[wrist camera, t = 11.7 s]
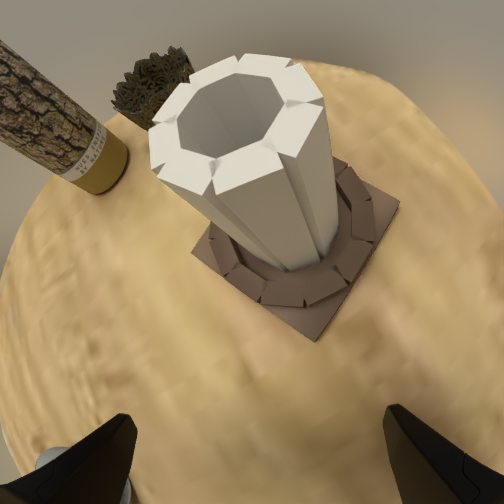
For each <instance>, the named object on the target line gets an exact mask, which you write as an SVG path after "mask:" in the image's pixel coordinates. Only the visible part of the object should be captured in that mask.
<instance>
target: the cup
mask: <svg viewBox="0 0 504 504" xmlns="http://www.w3.org/2000/svg"><path fill="white" fill-rule="evenodd" d="M168 54H169V55H167V54H165V55H164V56H162V57H161V56H159V55H158V54H157V53H151V54H150V59H142V60H139V61H137V62H136V63H135V67H134V72H133V74H131V73H130V72H128V73H125V74H124V76H125V79H126V81H127V82H128V83H127V82H119V83H117V87H116V88H117V90H113V92H114V95H115V99H116V100H115V101H113V100H111V102H112V103H113V104H114V105H115V107H113V108H114V109H115V110H117V111H118V112H120V113H121V114H123V115H124V116H125V117H127V118H128V119H130V120H131V121H132V122H134V123H135V124H137V125H138V126H140V127H141V128H143V129H144V130H146V131H148V130H149V129H150V128H152V127H154V126H156V124H155V123H154V122H153V121H152V119H153V118H154V117H155V115H156V114H157V112H158V111H159V110H160V108H161V107H162V106H163V104H164V103H165V102H166V100H167V99H168V98H169V96H170V95H171V94H172V93H173V91H174V90H175V89H176V88H177V86H178V85H179V84H180V83H189V84H191V83H190V78H189V76H190V75H192V74H194V73H195V72H194V69H193V67H192V65H191V63H190V61H189V59H188V56H187V55H186V53H185V52H184V50H183V49H182V48H181V47H180V48H179V49H177V50H176V49H175V48H174V47H172V46H170V47H169V49H168ZM148 132H149V131H148Z"/></svg>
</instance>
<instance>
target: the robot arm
mask: <svg viewBox="0 0 504 504" xmlns="http://www.w3.org/2000/svg"><path fill="white" fill-rule="evenodd" d="M383 429H384V434H385V439H386V444H387V450H388V455H389V460H390V464H391V467H392V470H393V473H394V477H395V480H396V483H397V486H398V490H399V493H400V496H401V500H402V503H403V504H504V475H502V474H500V473H498V472H496V471H494V470H492V469H490V468H488V467H486V466H485V465H483V464H481V463H480V462H478V461H477V460H475V459H474V458H472V457H471V456H469V455H468V454H467V453H465V454H464V451H462V450H461V449H459V448H458V447H457V446H455V445H454V444H453V443H451V442H450V441H448V440H447V439H446V438H444V437H443V436H442V435H440V434H439V433H438V432H436V431H435V430H434V429H432V428H431V427H429V426H428V425H427V424H425V423H424V422H423V421H421V420H420V419H419V418H417V417H416V416H415V415H413V414H412V413H411V412H410V411H408V410H407V409H406V408H404V407H403V406H402V405H400V404H393V405H389V406H387V408H386V411H385V415H384V418H383ZM137 433H138V431H137V427H136V426H135V424H134V422H133V420H132V418H131V416H130V415H128V414H123V413H119V414H117V415H116V416H114V417H113V418H112V419H110V420H109V421H107V422H106V423H105V424H103V425H102V426H101V427H99V428H98V429H96V430H95V431H94V432H92V433H91V434H89V435H88V436H86V437H85V438H84V439H82V440H81V441H79V442H78V443H76V444H75V445H74V446H72V447H71V448H69V449H68V450H66V451H65V452H63V453H62V454H60V455H59V456H57V457H56V458H55V459H53V460H51V461H50V462H48V463H47V464H45V465H43V466H42V467H40V468H39V469H37V470H35V471H33V472H31V473H29V474H27V475H25V476H23V477H21V478H19V479H17V480H15V481H12V482H10V483H8V484H3V485H0V504H120V502H121V498H122V495H123V492H124V488H125V485H126V482H127V478H128V475H129V472H130V469H131V465H132V460H133V455H134V449H135V444H136V439H137Z"/></svg>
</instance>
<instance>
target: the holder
mask: <svg viewBox="0 0 504 504" xmlns="http://www.w3.org/2000/svg"><path fill="white" fill-rule="evenodd" d="M332 158H333V166H334V175H335V184H336V194H337V205H338V217H339V225H338V227H339V232H338V235H337V237H336V239H335V241H334V243H333V245H332V247H331V249H330V251H329V253H328V255H327V257H326V258H324V257H322V256H320V255H318V256H319V259H320V262H321V263H320V264H317V265H314V266H311V267H308V268H305V269H303V270H300V271H297V272H294V273H291V272H290V271H289V270H288V269H287V270H286V272H283V271H281V270H279V269H277V268H275V267H273V266H271V265H269V264H267V263H265V262H263V261H261V260H259V259H258V258H257V257H255V256H254V255H253V254H252V253H250V252H249V251H248V250H247V249H245V248H244V247H243V246H242V245H240V244H239V243H238V242H237V241H235V240H234V239H233V238H232V237H230V236H229V235H228V234H227V233H225V232H224V231H223V230H222V229H220V228H219V227H218V226H217V225H215V224H214V223H213V222H212V221H211V223H210V225H209V226H208V228H207V229H206V231H205V232H204V234H203V235H202V237H201V238H200V240H199V241H198V243H197V244H196V245H195V247H194V248H193V250H192V251H191V253H192V254H193V255H194V256H196V257H197V258H198V259H200V260H201V261H202V262H204V263H205V264H206V265H208V266H209V267H210V268H212V269H213V270H214V271H216V272H217V273H218V274H220V275H221V276H222V277H224V278H225V280H226V281H228V282H229V283H231V284H232V285H233V286H235V287H236V288H237V289H239V290H240V291H241V292H243V293H244V294H246V295H247V296H248V297H250V298H251V299H252V300H254V301H255V302H257V303H259V304H261V305H262V306H263V307H265V308H266V309H268V310H269V311H270V312H272V313H273V314H275V315H276V316H277V317H279V318H280V319H282V320H283V321H284V322H286V323H287V324H289V325H290V326H292V327H293V328H294V329H296V330H297V331H299V332H300V333H302V334H303V335H304V336H306V337H307V338H309V339H310V340H312V341H313V342H316V340H317V339H318V337H319V336H320V335H321V333H322V332H323V330H324V329H325V327H326V326H327V324H328V323H329V322H330V320H331V319H332V317H333V316H334V314H335V313H336V311H337V310H338V308H339V307H340V305H341V304H342V302H343V300H344V299H345V297H346V296H347V294H348V293H349V291H350V290H351V288H352V286H353V285H354V283H355V282H356V280H357V278H358V277H359V275H360V273H361V272H362V270H363V269H364V267H365V265H366V264H367V262H368V260H369V258H370V257H371V255H372V253H373V252H374V250H375V248H376V246H377V245H378V243H379V241H380V239H381V238H382V236H383V234H384V232H385V230H386V229H387V227H388V225H389V223H390V221H391V219H392V218H393V216H394V214H395V212H396V210H397V208H398V206H399V203H400V201H399V200H397V199H395V198H394V197H392V196H390V195H388V194H387V193H385V192H383V191H381V190H379V189H377V188H376V187H374V186H372V185H370V184H368V183H366V182H364V181H362V180H361V179H359V177H358V176H357V174H356V173H355V172H354V170H353V169H352V167H351V166H350V167H348V164H347V163H345V162H343V161H341V160H339V159H337V158H335V157H333V156H332Z"/></svg>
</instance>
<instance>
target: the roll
mask: <svg viewBox="0 0 504 504" xmlns="http://www.w3.org/2000/svg"><path fill="white" fill-rule="evenodd" d="M189 78H190V83H191V84H189V83H180V84H179V85H178V86H177V88H176V89H175V90H174V91H173V93H172V94H171V95H170V96H169V98H168V99H167V100H166V102H165V103H164V104H163V106H162V107H161V108H160V110H159V111H158V112H157V114H156V115H155V117H154V118H153V119H152V121H153V122H154V123H155V124H156V126H154V127H152V128H150V129H149V130H148V131H149V147H150V160H151V170H152V171H153V172H155V173H156V174H157V175H158V176H157V178H158V179H160V180H161V181H162V182H163V183H164V184H166V185H167V186H168V187H169V188H171V189H172V190H173V191H174V192H176V193H177V194H178V195H179V196H181V197H182V198H183V199H184V200H186V201H187V202H188V203H189V204H191V205H192V206H193V207H194V208H196V209H197V210H198V211H199V212H201V213H202V214H203V215H204V216H206V217H207V218H208V219H209V220H210V221H212V222H213V223H214V224H215V225H217V226H218V227H219V228H220V229H222V230H223V231H224V232H225V233H227V234H228V235H229V236H230V237H232V238H233V239H234V240H235V241H237V242H238V243H239V244H240V245H242V246H243V247H244V248H245V249H247V250H248V251H249V252H250V253H252V254H253V255H254V256H255V257H257V258H258V259H259V260H261V261H263V262H265V263H267V264H269V265H271V266H273V267H275V268H277V269H279V270H281V271H283V272H286V270H287V269H288V270H289V271H290V272H291V273H294V272H297V271H300V270H303V269H305V268H308V267H311V266H314V265H317V264H320V263H321V262H320V259H319V256H318V255H320V256H322V257H324V258H326V257H327V255H328V253H329V251H330V249H331V247H332V245H333V243H334V241H335V239H336V237H337V235H338V232H339V227H338V225H339V217H338V205H337V194H336V184H335V175H334V166H333V158H332V150H331V142H330V135H329V128H328V122H327V115H326V109H325V103H324V98H323V96H322V94H321V92H320V91H319V89H318V88H317V86H316V85H315V83H314V82H313V81H312V79H311V78H310V76H309V75H308V73H307V72H306V70H305V69H304V68H303V66H302V65H301V63H298V64H295V65H293V62H292V59H290V58H283V57H274V56H267V55H257V54H245V55H244V56H243V57H242V58H241V59H240V60H239V62H238V61H237V59H236V57H235V56H232V57H229V58H227V59H225V60H222V61H220V62H218V63H216V64H213V65H211V66H209V67H207V68H204V69H202V70H200V71H198V72H196V73H194V74H192V75H190V76H189Z"/></svg>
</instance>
